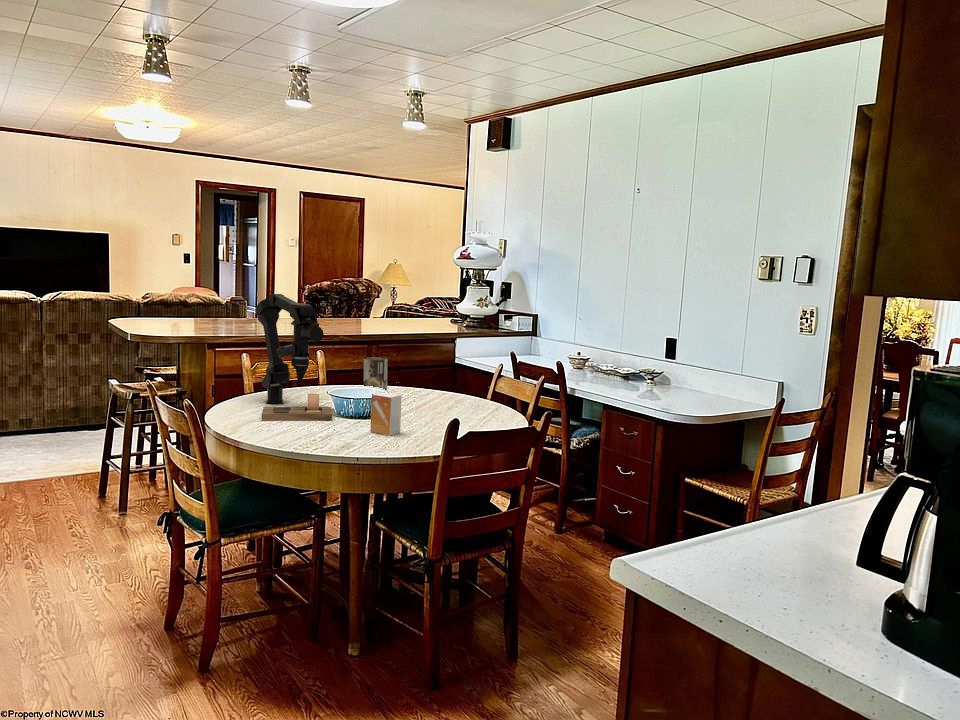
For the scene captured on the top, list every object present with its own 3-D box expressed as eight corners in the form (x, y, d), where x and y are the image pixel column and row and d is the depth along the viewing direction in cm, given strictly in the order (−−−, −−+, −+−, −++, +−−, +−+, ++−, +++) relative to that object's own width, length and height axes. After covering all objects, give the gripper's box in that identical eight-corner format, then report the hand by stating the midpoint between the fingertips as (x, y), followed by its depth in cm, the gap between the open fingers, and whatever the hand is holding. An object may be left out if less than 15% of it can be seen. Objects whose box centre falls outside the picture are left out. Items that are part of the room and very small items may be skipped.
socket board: (263, 413, 267) (263, 405, 267) (331, 413, 273) (331, 405, 272) (261, 420, 256) (261, 412, 255) (332, 420, 261) (332, 412, 261)
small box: (369, 432, 247) (371, 394, 245) (381, 429, 252) (382, 391, 251) (389, 436, 243) (391, 397, 241) (400, 432, 248) (402, 394, 247)
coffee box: (387, 395, 314) (388, 358, 311) (383, 398, 307) (385, 359, 305) (366, 394, 314) (367, 356, 312) (362, 396, 308) (363, 358, 306)
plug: (307, 415, 268) (307, 393, 267) (318, 415, 269) (319, 393, 268) (307, 417, 264) (307, 395, 263) (318, 417, 265) (319, 395, 264)
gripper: (279, 334, 278) (278, 374, 281) (277, 341, 260) (276, 384, 263) (310, 335, 281) (308, 375, 283) (309, 342, 263) (308, 385, 265)
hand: (299, 380), depth 273 cm, fingers open, 9 cm apart
